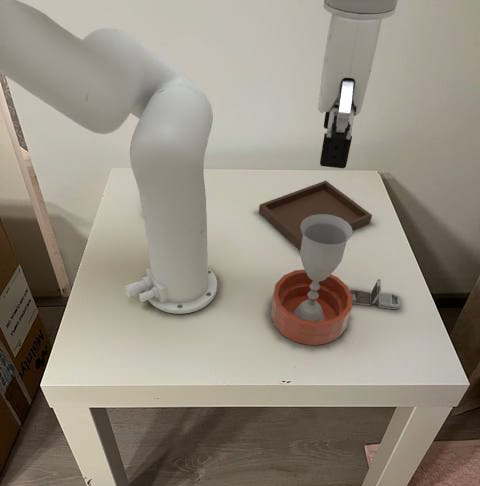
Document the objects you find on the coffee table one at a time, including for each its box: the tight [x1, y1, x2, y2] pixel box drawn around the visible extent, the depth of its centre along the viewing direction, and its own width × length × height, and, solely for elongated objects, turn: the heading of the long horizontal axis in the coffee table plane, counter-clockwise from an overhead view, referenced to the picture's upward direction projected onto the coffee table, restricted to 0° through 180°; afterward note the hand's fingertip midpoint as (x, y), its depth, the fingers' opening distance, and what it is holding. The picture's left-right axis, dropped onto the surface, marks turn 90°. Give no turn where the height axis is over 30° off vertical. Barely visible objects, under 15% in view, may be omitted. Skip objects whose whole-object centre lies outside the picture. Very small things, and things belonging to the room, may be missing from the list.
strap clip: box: [350, 278, 401, 310], centre depth 83 cm, size 8×3×4 cm, turn 80°
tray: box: [258, 180, 373, 251], centre depth 99 cm, size 18×15×2 cm
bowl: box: [270, 268, 354, 346], centre depth 80 cm, size 13×13×5 cm
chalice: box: [294, 214, 354, 322], centre depth 75 cm, size 7×7×18 cm
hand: (333, 146), depth 63 cm, fingers open, 9 cm apart
